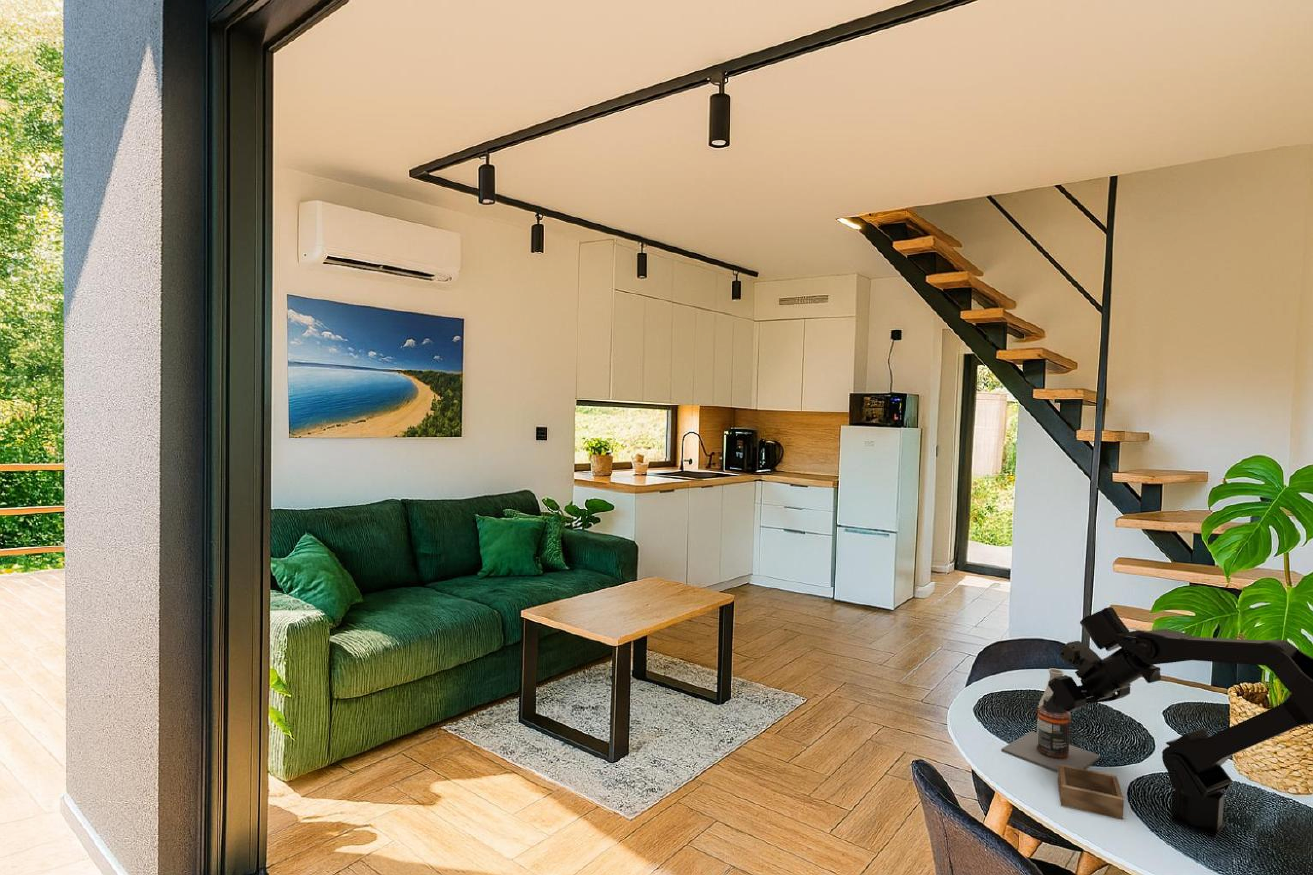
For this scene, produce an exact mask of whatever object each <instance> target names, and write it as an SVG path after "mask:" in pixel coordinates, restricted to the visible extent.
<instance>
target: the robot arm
mask: <svg viewBox="0 0 1313 875" xmlns="http://www.w3.org/2000/svg"><path fill="white" fill-rule="evenodd" d="M1079 624H1080V625H1081V627H1082V628H1083V629H1084V631H1085V633H1086V634H1087V635H1088V636H1089V638H1090V639H1091V640H1092V642H1093V643H1094V645H1095V646H1096V647H1097V649H1099V650H1104V649H1105V650H1106V652H1111V651H1114V650H1116V651H1114V652H1113V653H1111V654H1109V655H1108V656H1105V657H1104V658H1103V659H1102V657H1100V656H1099V655H1098V654H1097V653H1096V652H1095V651H1094V650H1093V649H1091V648H1090V647H1089V646H1088V645H1086V644H1085V643H1084V642H1082V641H1080V640H1073V641H1069V642H1067V643H1066V644H1064V645H1063V646H1062V647H1059V652H1060V653H1059V658H1061V659H1062V661H1064V662H1065V663H1067V665H1072V667H1074V668H1075V669H1076V671H1074V674H1075V675H1076V676H1077V678H1079V679H1080V682H1081V685H1077V683H1076V682H1075V680H1074V679H1073V677H1072V676H1069V675H1066V674H1063V675H1062V676H1060V677H1055V678H1053V679H1052V680H1050V681H1049V680H1048V682H1047V685H1049V687H1050V688H1051V690H1052V691H1053V694H1052V696H1051V697H1050V699H1049V700H1048V702H1047V703H1046V705H1045V706H1044V708H1045V710H1046V711H1047V712H1062V711H1067V712H1074V711H1077V710H1080V709H1082V708H1084V707H1085V706H1087V705H1088V704H1095V703H1105V702H1107V703H1108V702H1112V701H1115V700H1116V701H1117V700H1119V699H1120V700H1121V699H1124V698H1125V697H1127V696H1128V695H1130V694H1131V686H1132V683H1134V682H1135V681H1137V680H1139V679H1140V678H1144V681H1146V682H1147V683H1148V684H1153V683H1155V682H1159V681H1161V680H1162V676H1161V671H1162V670H1161V667H1159V666H1156V665H1161V664H1164V665H1165V664H1173V663H1180V662H1187V661H1188V662H1189V661H1197V662H1199V661H1200V662H1209V663H1210V662H1211V663H1225V664H1226V663H1227V664H1239V665H1250V666H1251V665H1252V666H1253V665H1254V666H1265V667H1266V668H1268V669H1269V670H1270V671H1271V672H1272V673H1273V674H1274V675H1275V676H1276V678H1277V679H1278V680H1279V682H1281V684H1282V685H1283V686H1284V687H1285V689H1286V690H1288V691H1289V692H1290V694H1289V695H1288V696H1287V697H1286V698H1285V699H1284V700H1283V701H1282V702H1281V703H1279V704H1278V705H1276V706H1273V707H1272V708H1269V709H1268V710H1265V711H1263V712H1260V713H1258V714H1255V715H1254V716H1252V717H1250V718H1248V719H1246V720H1243V721H1241V722H1239V723H1237V724H1234V725H1233V726H1229V727H1228V728H1226V729H1223V730H1221V731H1219V732H1217V733H1214V734H1212V735H1211V734H1210V735H1208V734H1207V731H1206V730H1205V728H1204V727H1203V728H1199V729H1197V730H1193V731H1190V732H1187V733H1185V734H1184V733H1183V735H1181V736H1180V737H1177V738H1176V739H1175V738H1174V739H1172V740H1170V741H1167V742H1166V743H1165V744H1166V745H1167V746H1166V747H1164V749H1163V750H1162V752H1161V754H1162V756H1161V758H1162V763H1163V765H1164V767H1165V769H1166V771H1167V773H1168V776H1169V777H1168V778H1169V781H1170V783H1171V788H1172V789H1173V790H1171V800H1170V801H1171V802H1170V803H1171V804H1170V812H1171V814H1172V816H1170V821H1171V822H1174V823H1176V824H1178V825H1181V826H1183V827H1186V828H1188V829H1191V830H1194V831H1197V832H1198V833H1201V834H1204V835H1206V836H1209V837H1211V838H1217V837H1218V835H1219V834H1220V833H1221V831H1222V830H1223V829H1224V828H1225V826H1226V822H1225V821H1223V818H1224V817H1223V816H1224V801H1225V793H1223V792H1224V791H1228V790H1229V788H1230V787H1231V785H1232V783H1233V780H1232V778H1231V777H1230V776H1229V775H1228V773H1227V771H1225V769H1224V768H1223V767H1222V765H1224V764H1225V763H1226V762H1227V761H1228V760H1229V759H1230V758H1231V757H1232V756H1233V755H1235V754H1237V753H1240V752H1242V751H1245V750H1247V749H1249V748H1251V747H1254V746H1256V745H1258V744H1261V743H1263V742H1265V741H1269V740H1270V739H1273V738H1275V737H1278V736H1280V735H1282V734H1285V733H1287V732H1289V731H1292V730H1294V729H1296V728H1298V727H1302V726H1310V725H1313V657H1312V656H1310V655H1309V654H1306V653H1305V652H1303V651H1301V650H1300V649H1299V648H1297V647H1296V646H1295V645H1293V644H1292V643H1291V642H1288V641H1286V640H1284V639H1273V640H1272V639H1271V640H1268V639H1267V640H1266V639H1265V640H1264V639H1247V638H1246V639H1245V638H1244V639H1242V638H1241V639H1240V638H1225V637H1206V636H1205V637H1204V636H1203V637H1201V636H1195V635H1191V634H1188V633H1185V632H1182V631H1178V630H1175V629H1174V630H1173V629H1168V628H1157V629H1152V630H1147V631H1146V630H1141V629H1138V630H1132V631H1130V629H1128V627H1127V626H1126V625H1125V623H1124V622H1123V621H1122V619H1121V618H1120V617H1119V615H1118V614H1117V612H1116V610H1115V609H1114V608H1113V607H1112V606H1109V607H1105V608H1103V609H1101V610H1099V611H1096V612H1094V613H1092V614H1089V615H1087V616H1085V617H1083V618H1082V619H1081V620H1080V621H1079Z"/></svg>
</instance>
